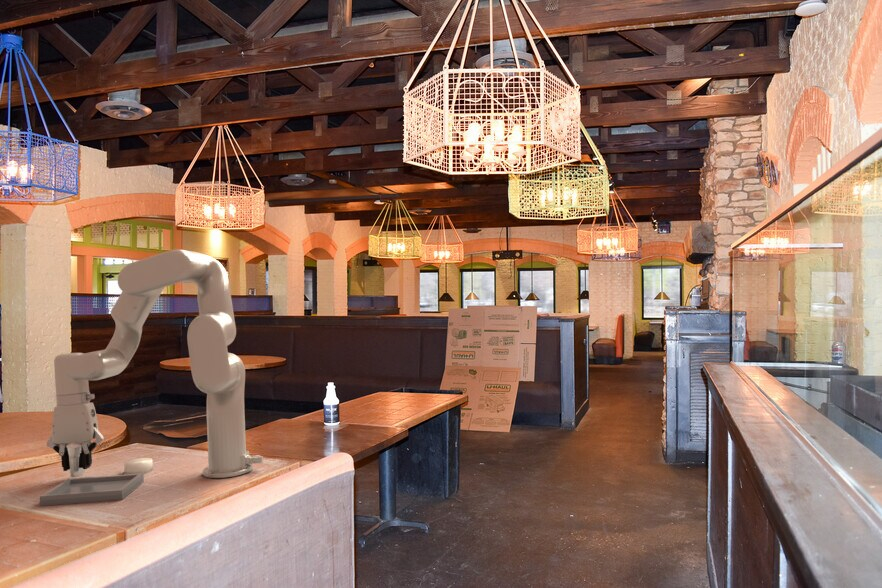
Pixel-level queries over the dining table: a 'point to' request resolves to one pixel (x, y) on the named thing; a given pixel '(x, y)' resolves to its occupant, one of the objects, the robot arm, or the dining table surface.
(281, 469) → the dining table surface
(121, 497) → the grey tray
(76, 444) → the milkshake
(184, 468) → the dining table surface
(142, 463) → the cream domed disc
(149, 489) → the dining table surface
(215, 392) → the robot arm
